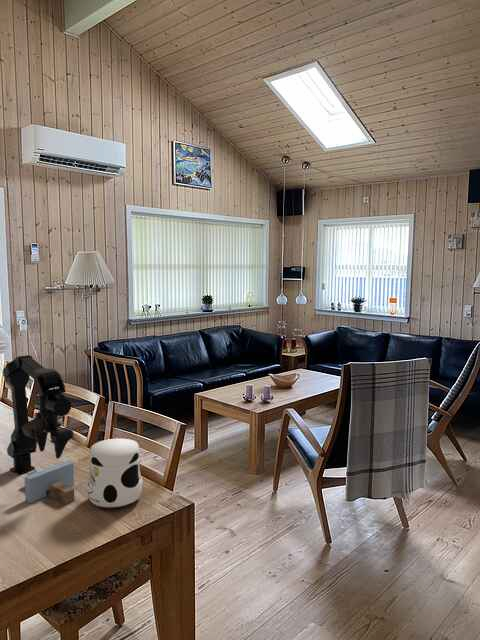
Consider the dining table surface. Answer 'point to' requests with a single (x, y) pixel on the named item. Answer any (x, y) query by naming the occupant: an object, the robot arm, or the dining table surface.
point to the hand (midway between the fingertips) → (50, 454)
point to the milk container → (114, 473)
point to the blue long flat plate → (48, 480)
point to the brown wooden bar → (60, 492)
